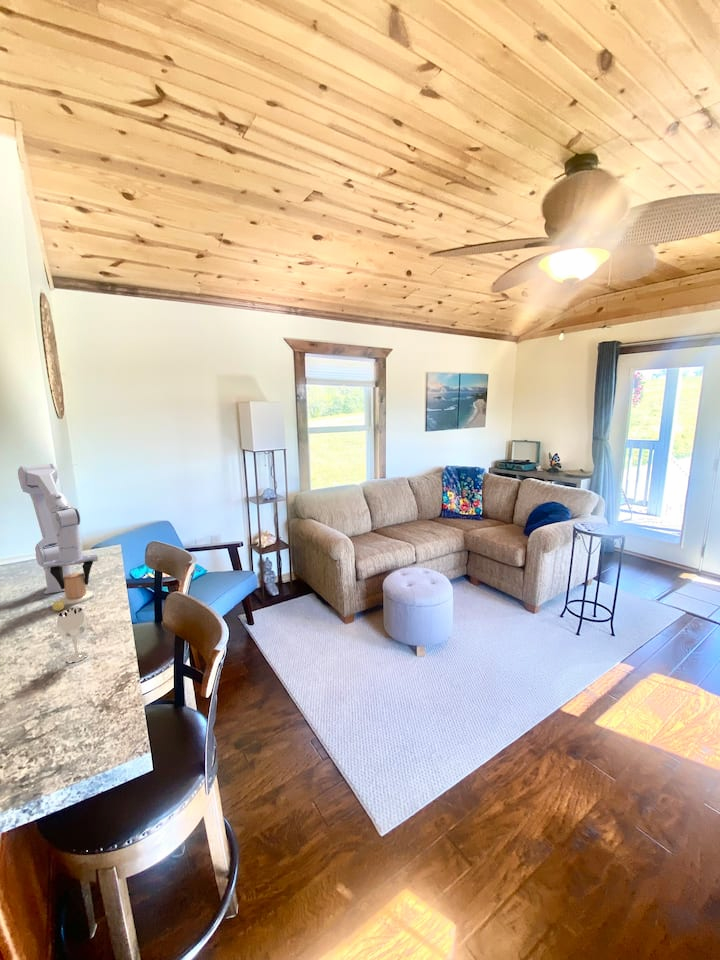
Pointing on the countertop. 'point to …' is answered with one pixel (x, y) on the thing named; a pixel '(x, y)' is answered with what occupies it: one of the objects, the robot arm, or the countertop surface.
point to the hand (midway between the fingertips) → (75, 585)
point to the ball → (58, 605)
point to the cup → (74, 585)
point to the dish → (77, 600)
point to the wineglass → (72, 628)
